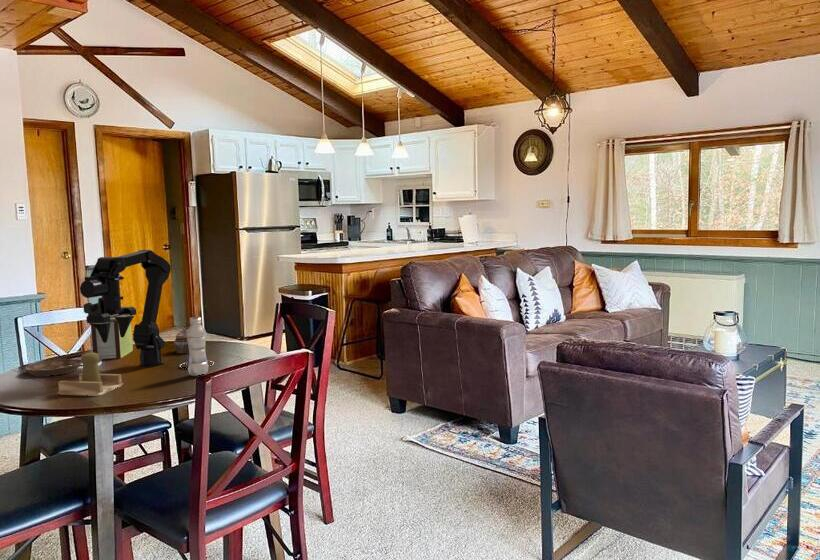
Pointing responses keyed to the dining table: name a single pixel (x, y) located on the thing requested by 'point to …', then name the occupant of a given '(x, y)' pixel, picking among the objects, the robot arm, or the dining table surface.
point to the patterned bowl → (188, 361)
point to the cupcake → (182, 341)
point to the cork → (90, 367)
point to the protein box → (112, 342)
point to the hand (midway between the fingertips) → (113, 339)
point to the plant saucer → (39, 367)
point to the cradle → (90, 385)
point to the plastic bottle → (196, 347)
